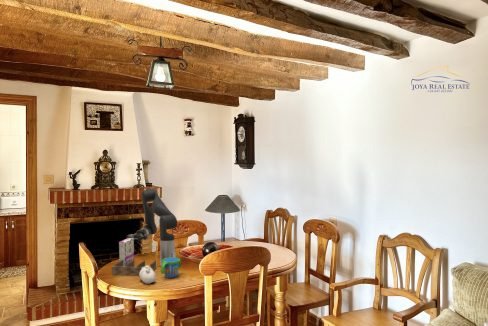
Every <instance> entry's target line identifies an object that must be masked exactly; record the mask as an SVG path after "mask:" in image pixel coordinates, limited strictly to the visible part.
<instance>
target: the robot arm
mask: <svg viewBox="0 0 488 326" xmlns="http://www.w3.org/2000/svg"><path fill="white" fill-rule="evenodd" d="M140 197H141V201H142V208H143V212H144V223H145V225H144V226H143V228H140V229H138V230H137V231H136V232H135V233H134V234H132V233H129V234H128V235H126V239H127V238H133V239H134V240H137V241H138V242H139V241H143V240H144V241H146V240H147V239H148V238H149V236H150V235H156V234H157V231H158V228H157V224H156V222H155V216H157V217H159V219H158V221H159V222H158V223H159V238H160V239H159V240H160V241H159V243H160V244H159V245H160V247H159V249H160V250H159V251H160V252H159V255H160V256H159V257H160V258H159V259H160V260H159V261H160V262H159V267H162V264H163V263H162V260H163V259H165V258H170V257H175V258H176V250H175V235H174V234H172V233H168V232H167V230H173V229H176V228H177V226H178V220H177V217H176V216H175V214H174V213H173V212H172V211H171V210H170V209H169V208H168V207H167V206H166V204H165V202H163V200H162V199H161V197H160V195H159V194H158V192H157V190H156V189H155V188H149V189H143V190H142V191H141V194H140ZM149 202H152V203H151V205H150V206H151V208H150V206H149V205H148V203H149Z"/></svg>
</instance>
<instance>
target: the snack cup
mask: <svg viewBox="0 0 488 326" xmlns="http://www.w3.org/2000/svg"><path fill="white" fill-rule="evenodd" d="M162 263H163V264H162V267H161V266H160V267H161V268H160V273H161V274H163V275H164V277H165V278H167V279H168V278H169V279H170V278H171V279H173V278H176V277H178V275H179V269H180V268H182V262H181V259H180V258H179V257H176V256H175V257H170V258H165V259H163V260H162Z"/></svg>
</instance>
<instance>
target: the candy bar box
mask: <svg viewBox="0 0 488 326" xmlns="http://www.w3.org/2000/svg"><path fill="white" fill-rule="evenodd" d="M134 243H135V239H133V238H127V237H126V239H123V240H120V241H119V242H118V249H119V250H118V251H119V255H118V257H119V262H120V261H121V260H123V266H125V265H127V264H128V263H130V262H131V261H132V260H134V261H135V247H134V246H135V244H134Z"/></svg>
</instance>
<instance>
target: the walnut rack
mask: <svg viewBox="0 0 488 326" xmlns="http://www.w3.org/2000/svg"><path fill="white" fill-rule="evenodd" d="M149 265H150V267H151V268H152V269H153V271H154V272H155V270H156V269H157V261H156V260H154V261H153V262H151V263H150V264H149ZM145 266H146V260H143V261H141V262H140V263H138V264H136V265H135V259H134V260H132V261H131V262H130V263H128V264H127V265H125V266H123V260H121V261H120V260H119V261H118V262H117V263H115V264H113V265H112V266H111V276H112V275H113V276H132V277H133V276H138V277H140V276H139V273H140V271H141V269H142V267H145Z"/></svg>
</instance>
